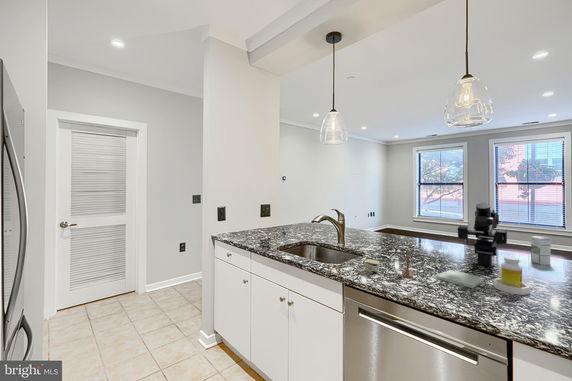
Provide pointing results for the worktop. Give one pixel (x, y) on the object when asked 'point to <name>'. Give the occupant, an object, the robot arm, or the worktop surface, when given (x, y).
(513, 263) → the supplement bottle
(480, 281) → the sage board
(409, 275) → the gingerbread man figurine
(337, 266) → the worktop surface
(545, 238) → the syrup box
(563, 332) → the worktop surface
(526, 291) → the white flat octagonal ring
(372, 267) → the stacked layers on plate
